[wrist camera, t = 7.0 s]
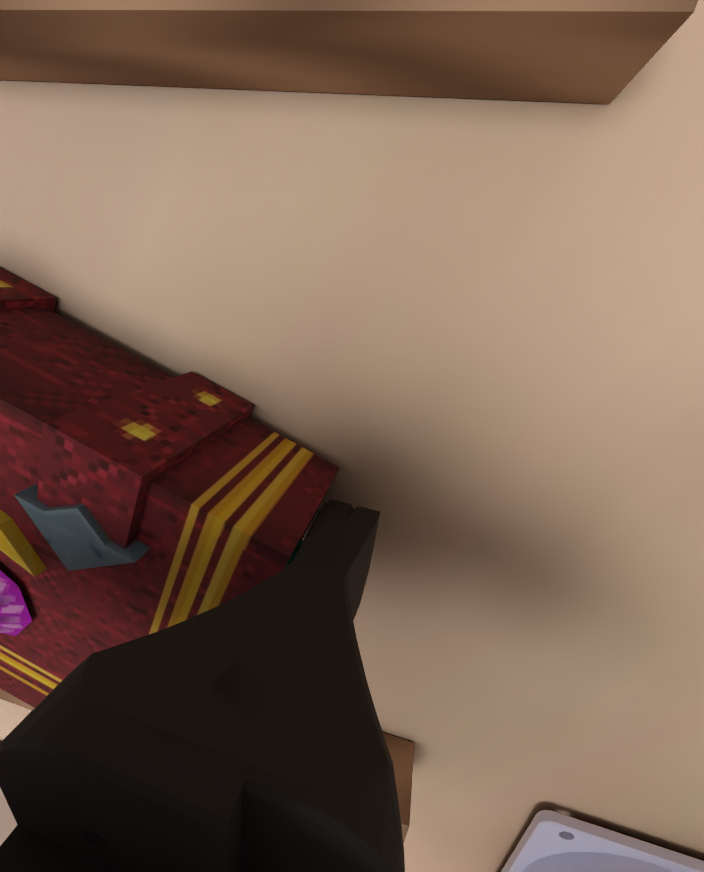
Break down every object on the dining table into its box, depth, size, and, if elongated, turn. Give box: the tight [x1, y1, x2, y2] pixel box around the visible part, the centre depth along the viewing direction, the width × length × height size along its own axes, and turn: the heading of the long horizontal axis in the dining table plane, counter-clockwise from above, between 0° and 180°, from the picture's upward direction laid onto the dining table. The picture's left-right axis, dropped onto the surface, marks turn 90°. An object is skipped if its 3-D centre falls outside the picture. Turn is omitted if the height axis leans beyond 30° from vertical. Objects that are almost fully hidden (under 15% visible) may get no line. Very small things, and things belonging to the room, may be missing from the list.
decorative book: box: [0, 268, 340, 708], centre depth 11 cm, size 11×16×5 cm
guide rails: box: [0, 0, 698, 842], centre depth 11 cm, size 22×23×2 cm
